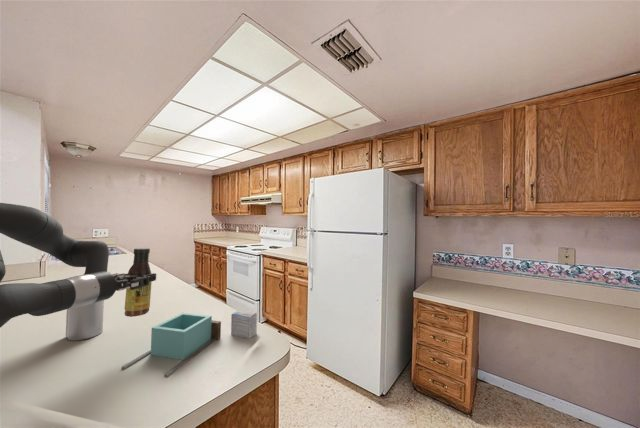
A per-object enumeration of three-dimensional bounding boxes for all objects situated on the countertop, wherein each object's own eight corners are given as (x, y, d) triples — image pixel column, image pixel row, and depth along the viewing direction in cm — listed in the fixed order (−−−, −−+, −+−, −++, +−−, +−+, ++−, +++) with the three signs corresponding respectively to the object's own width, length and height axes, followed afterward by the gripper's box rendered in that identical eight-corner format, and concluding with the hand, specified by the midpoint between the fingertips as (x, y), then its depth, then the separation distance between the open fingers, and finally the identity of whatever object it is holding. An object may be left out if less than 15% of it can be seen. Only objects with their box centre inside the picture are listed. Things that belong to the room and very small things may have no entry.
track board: (118, 373, 67) (119, 347, 68) (180, 336, 89) (180, 316, 89) (169, 382, 64) (169, 355, 64) (220, 342, 86) (220, 321, 86)
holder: (150, 354, 74) (151, 327, 75) (181, 336, 87) (182, 312, 87) (183, 359, 72) (184, 332, 72) (211, 339, 84) (211, 316, 84)
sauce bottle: (135, 318, 72) (139, 250, 73) (118, 316, 74) (122, 249, 75) (155, 311, 79) (158, 247, 80) (139, 309, 80) (142, 247, 81)
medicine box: (256, 336, 90) (257, 312, 90) (249, 342, 86) (250, 316, 86) (238, 333, 93) (239, 309, 93) (230, 338, 88) (231, 313, 89)
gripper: (109, 276, 61) (166, 265, 78) (66, 272, 65) (128, 262, 81) (108, 307, 61) (165, 289, 77) (64, 301, 64) (127, 286, 81)
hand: (146, 275), depth 79 cm, fingers closed on sauce bottle, 6 cm apart
